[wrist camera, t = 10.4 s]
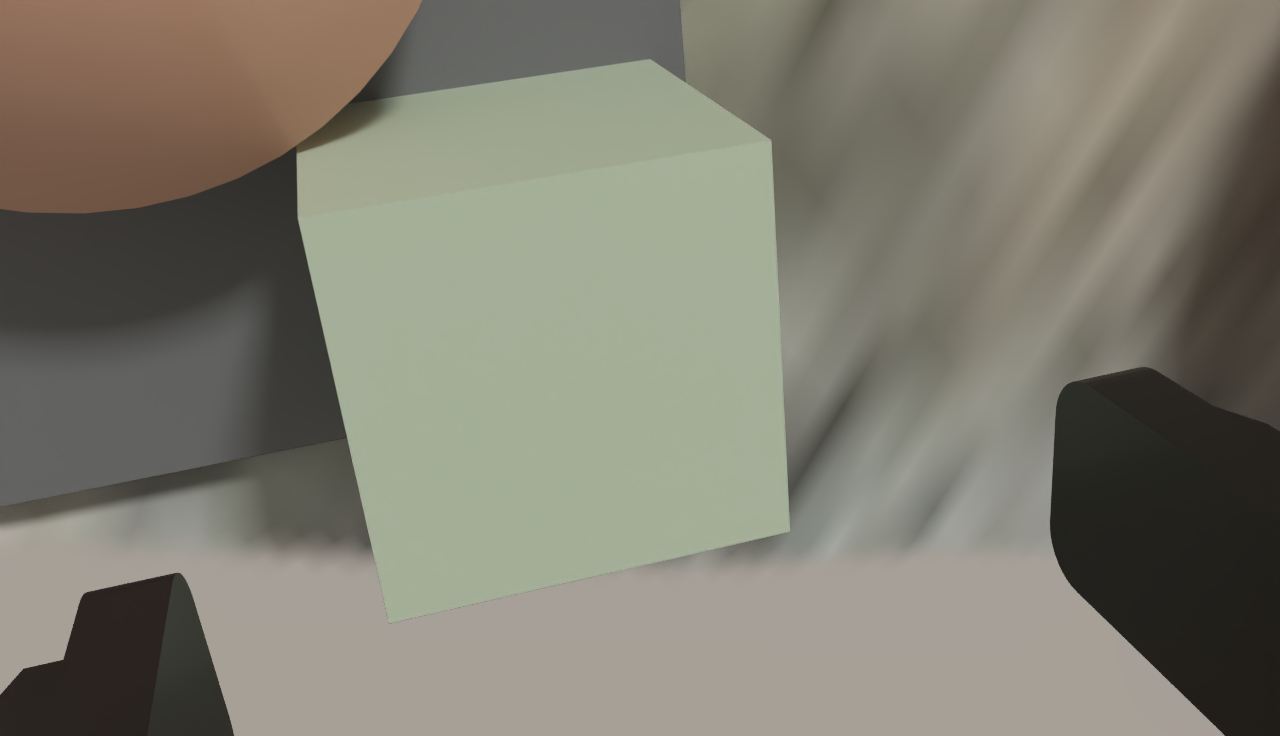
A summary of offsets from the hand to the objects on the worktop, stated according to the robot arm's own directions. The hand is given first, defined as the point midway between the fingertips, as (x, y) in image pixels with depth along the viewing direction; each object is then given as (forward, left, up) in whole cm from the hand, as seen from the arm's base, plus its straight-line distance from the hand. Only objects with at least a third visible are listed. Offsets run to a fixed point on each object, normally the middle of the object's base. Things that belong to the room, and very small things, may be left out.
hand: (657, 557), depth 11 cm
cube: (0, 0, -8) cm, 8 cm away
